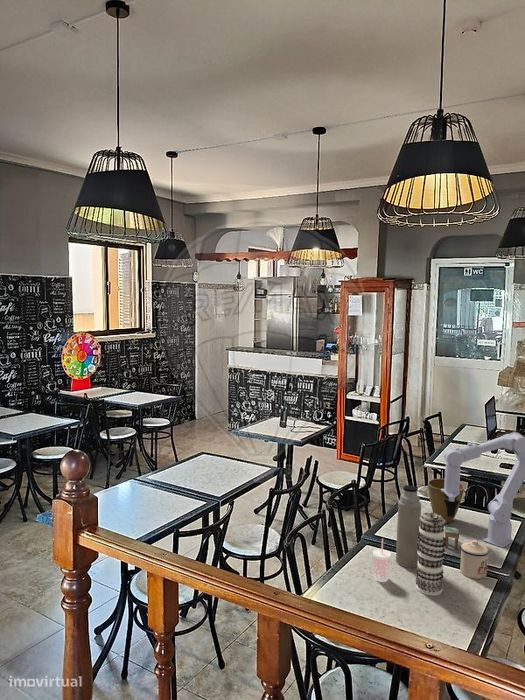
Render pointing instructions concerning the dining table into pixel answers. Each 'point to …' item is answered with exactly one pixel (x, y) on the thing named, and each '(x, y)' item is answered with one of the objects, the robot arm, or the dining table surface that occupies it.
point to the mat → (453, 548)
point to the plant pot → (441, 498)
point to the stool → (452, 536)
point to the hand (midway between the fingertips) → (450, 512)
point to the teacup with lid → (474, 559)
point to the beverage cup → (381, 564)
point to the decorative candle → (430, 554)
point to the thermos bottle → (408, 527)
